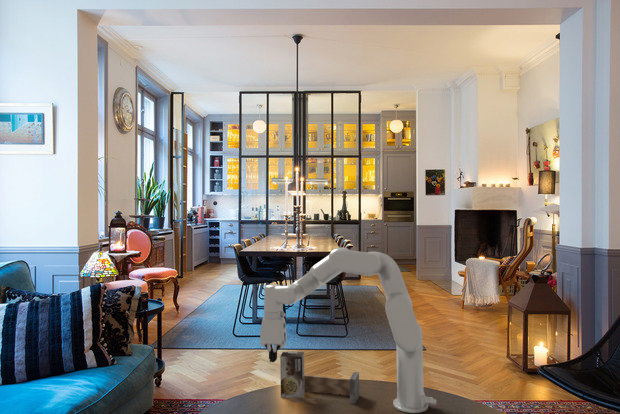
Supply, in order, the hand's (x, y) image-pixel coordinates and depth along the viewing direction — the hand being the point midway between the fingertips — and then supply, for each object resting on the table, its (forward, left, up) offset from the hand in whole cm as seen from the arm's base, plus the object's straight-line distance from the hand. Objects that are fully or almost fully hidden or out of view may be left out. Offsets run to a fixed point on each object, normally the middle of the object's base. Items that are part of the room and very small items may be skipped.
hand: (272, 361), depth 169 cm
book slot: (-20, 0, -12) cm, 24 cm away
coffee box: (-8, 0, -13) cm, 15 cm away
